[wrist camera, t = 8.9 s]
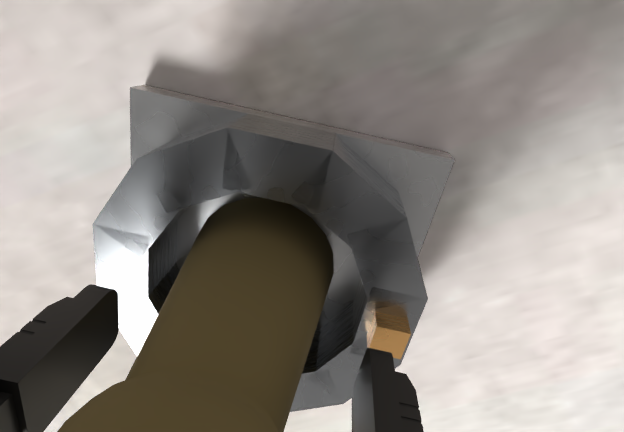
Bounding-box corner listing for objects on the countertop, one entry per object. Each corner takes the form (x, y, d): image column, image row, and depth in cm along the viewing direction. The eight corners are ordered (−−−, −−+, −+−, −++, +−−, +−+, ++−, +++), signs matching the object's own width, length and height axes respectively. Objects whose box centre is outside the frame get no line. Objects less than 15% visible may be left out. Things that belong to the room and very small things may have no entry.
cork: (359, 289, 16) (372, 691, 6) (245, 335, 18) (108, 707, 8) (287, 171, 14) (133, 472, 4) (167, 234, 16) (-149, 556, 6)
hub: (143, 322, 19) (90, 391, 15) (144, 85, 14) (65, 98, 10) (367, 372, 19) (371, 455, 15) (448, 152, 14) (484, 191, 10)
